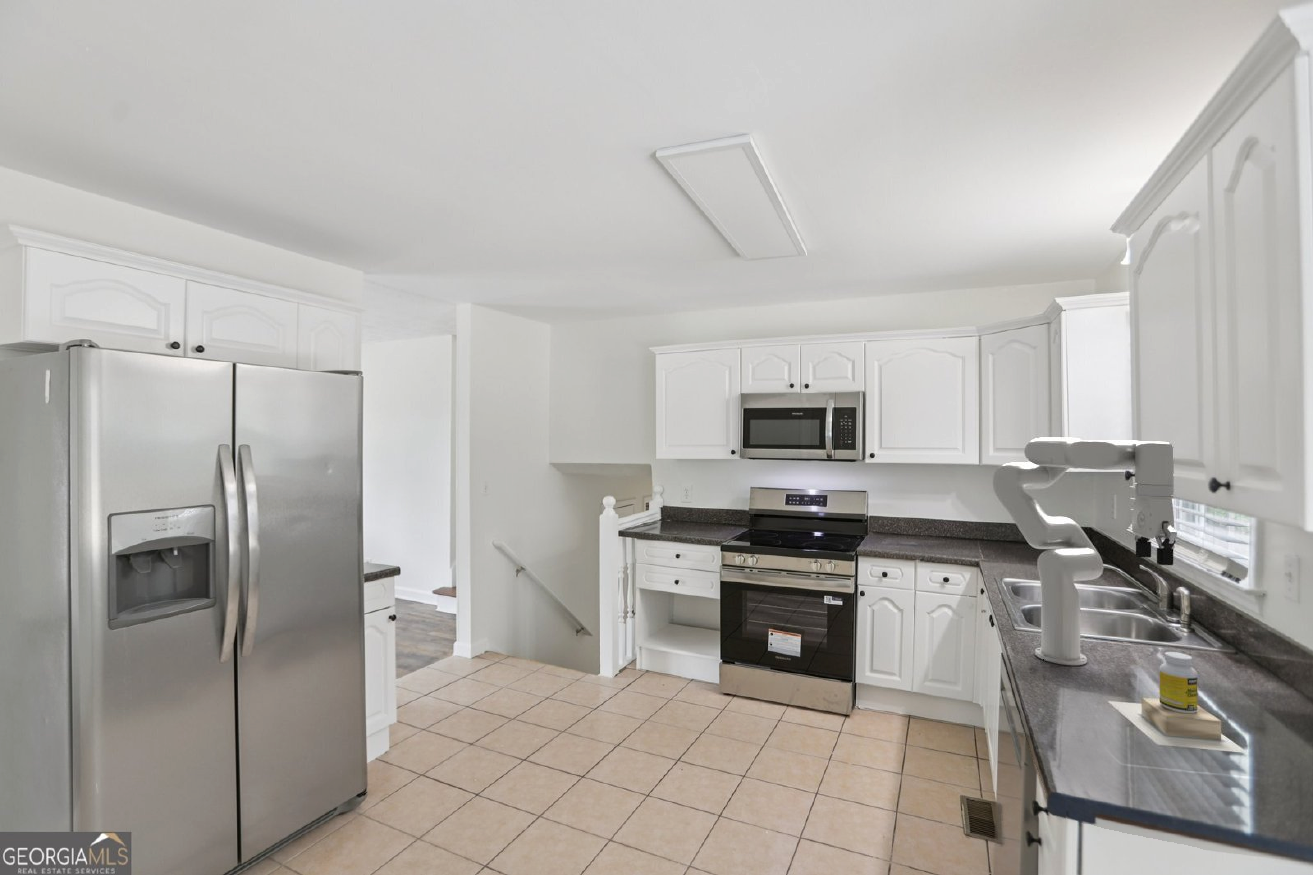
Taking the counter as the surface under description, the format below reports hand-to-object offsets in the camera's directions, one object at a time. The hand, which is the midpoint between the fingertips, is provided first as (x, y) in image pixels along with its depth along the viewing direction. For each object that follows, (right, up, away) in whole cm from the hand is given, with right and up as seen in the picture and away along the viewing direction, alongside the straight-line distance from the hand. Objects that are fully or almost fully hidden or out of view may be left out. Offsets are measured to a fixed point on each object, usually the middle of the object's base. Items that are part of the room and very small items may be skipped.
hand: (1153, 560), depth 156 cm
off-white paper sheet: (-9, -33, -16) cm, 38 cm away
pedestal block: (-8, -33, -18) cm, 38 cm away
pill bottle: (-8, -29, -17) cm, 35 cm away
